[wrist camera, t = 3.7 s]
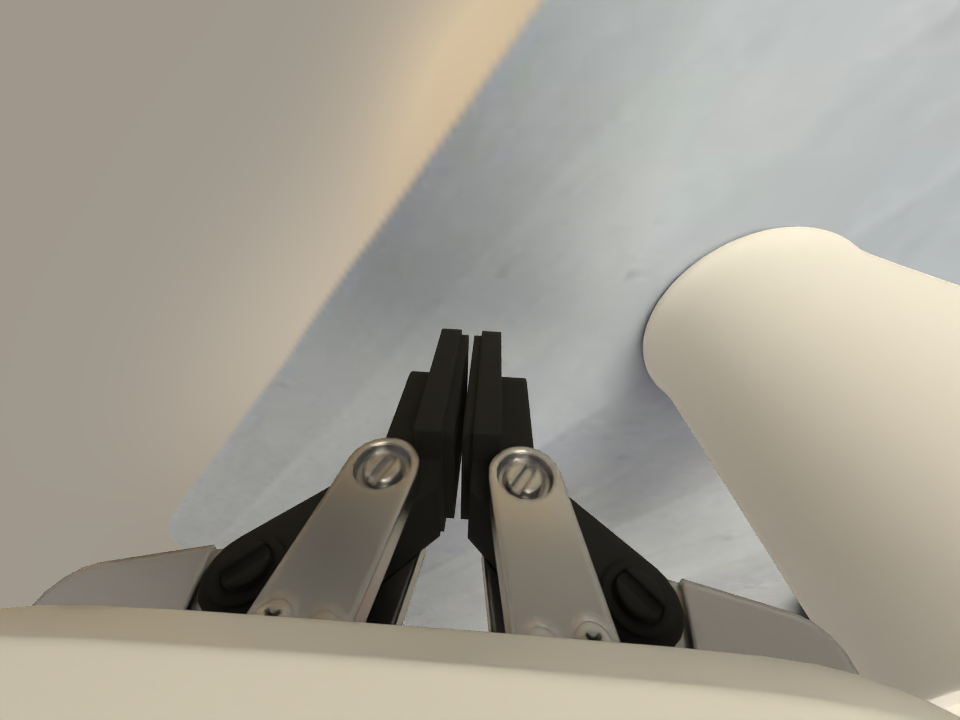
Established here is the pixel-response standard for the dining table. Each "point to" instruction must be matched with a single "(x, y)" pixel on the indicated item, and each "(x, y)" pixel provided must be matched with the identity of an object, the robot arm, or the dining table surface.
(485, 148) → the dining table surface
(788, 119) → the dining table surface
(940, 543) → the mug
